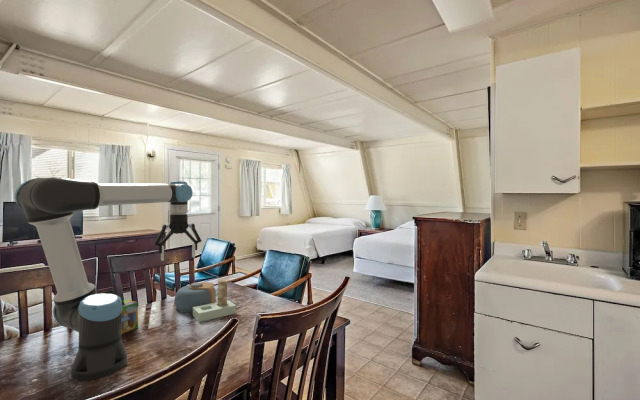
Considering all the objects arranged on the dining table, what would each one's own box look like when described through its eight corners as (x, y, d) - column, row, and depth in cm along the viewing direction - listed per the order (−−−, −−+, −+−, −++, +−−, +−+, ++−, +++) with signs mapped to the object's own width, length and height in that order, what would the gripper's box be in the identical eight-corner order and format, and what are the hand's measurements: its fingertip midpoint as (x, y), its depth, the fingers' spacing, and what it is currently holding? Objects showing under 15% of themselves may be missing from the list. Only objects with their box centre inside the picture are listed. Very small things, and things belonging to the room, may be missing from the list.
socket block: (198, 322, 138) (198, 313, 138) (192, 315, 146) (192, 307, 146) (235, 313, 149) (236, 305, 149) (228, 307, 157) (228, 299, 157)
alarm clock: (220, 308, 156) (220, 285, 156) (178, 316, 144) (179, 291, 145) (211, 298, 172) (211, 277, 172) (172, 304, 160) (173, 282, 160)
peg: (220, 314, 147) (220, 282, 147) (217, 312, 150) (218, 280, 150) (226, 312, 149) (227, 281, 149) (224, 310, 152) (224, 279, 152)
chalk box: (138, 328, 131) (138, 294, 131) (116, 336, 122) (116, 300, 122) (126, 324, 135) (126, 291, 135) (103, 332, 127) (104, 297, 127)
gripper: (150, 214, 130) (149, 263, 130) (208, 213, 145) (207, 257, 145) (147, 214, 136) (147, 260, 136) (203, 213, 151) (203, 254, 151)
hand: (178, 258), depth 140 cm, fingers open, 13 cm apart
